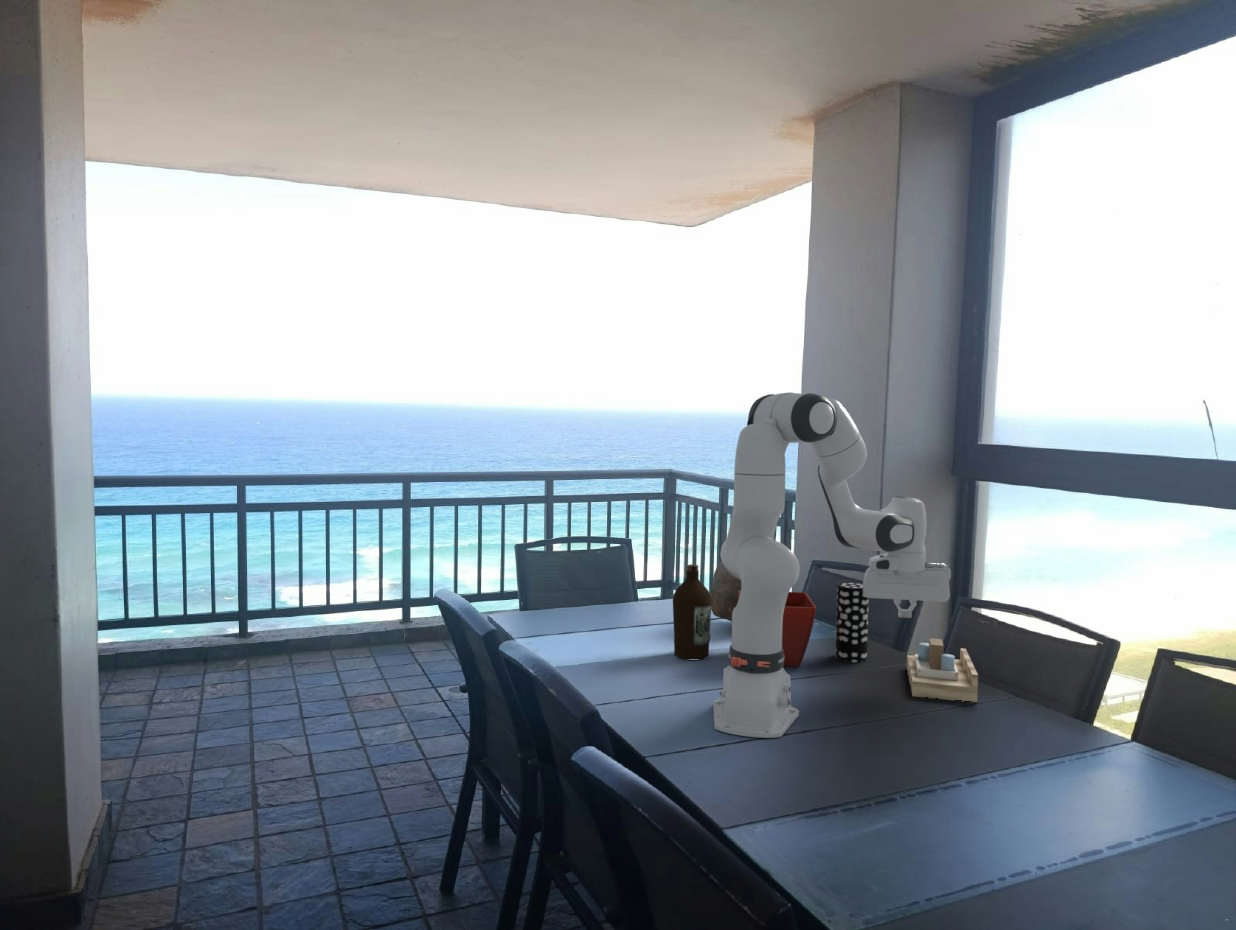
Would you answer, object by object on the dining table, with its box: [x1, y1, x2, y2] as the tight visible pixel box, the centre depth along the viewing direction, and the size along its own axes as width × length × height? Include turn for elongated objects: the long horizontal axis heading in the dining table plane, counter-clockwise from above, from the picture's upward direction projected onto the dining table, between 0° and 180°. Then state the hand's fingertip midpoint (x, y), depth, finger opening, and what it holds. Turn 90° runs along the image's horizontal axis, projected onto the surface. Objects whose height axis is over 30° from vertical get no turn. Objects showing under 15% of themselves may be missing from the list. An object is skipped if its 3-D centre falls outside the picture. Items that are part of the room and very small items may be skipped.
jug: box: [710, 560, 742, 623], centre depth 242 cm, size 24×21×30 cm
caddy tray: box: [914, 637, 958, 680], centre depth 192 cm, size 13×9×7 cm
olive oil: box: [672, 564, 712, 660], centre depth 214 cm, size 11×11×25 cm
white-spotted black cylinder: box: [835, 582, 870, 663], centre depth 213 cm, size 8×8×20 cm
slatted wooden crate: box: [906, 648, 979, 703], centre depth 192 cm, size 22×14×6 cm, turn 163°
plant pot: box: [738, 590, 817, 667], centre depth 211 cm, size 19×19×17 cm
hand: (904, 617), depth 194 cm, fingers closed
